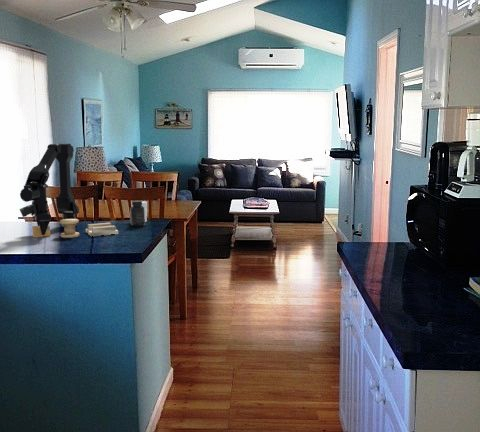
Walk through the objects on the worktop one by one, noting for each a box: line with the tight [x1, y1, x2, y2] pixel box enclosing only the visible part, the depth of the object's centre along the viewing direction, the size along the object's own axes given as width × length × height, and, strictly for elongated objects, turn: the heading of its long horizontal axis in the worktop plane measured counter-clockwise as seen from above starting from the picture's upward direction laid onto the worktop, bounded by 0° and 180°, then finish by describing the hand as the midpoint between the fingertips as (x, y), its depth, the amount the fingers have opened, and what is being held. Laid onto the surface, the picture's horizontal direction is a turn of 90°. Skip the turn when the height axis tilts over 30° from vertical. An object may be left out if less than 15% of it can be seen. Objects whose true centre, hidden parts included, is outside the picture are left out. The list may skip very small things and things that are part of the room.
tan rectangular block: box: [31, 225, 51, 238], centre depth 247 cm, size 4×7×4 cm, turn 116°
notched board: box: [85, 222, 119, 238], centre depth 253 cm, size 12×12×4 cm
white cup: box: [131, 200, 148, 223], centre depth 282 cm, size 8×8×10 cm
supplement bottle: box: [129, 200, 146, 227], centre depth 271 cm, size 7×7×12 cm
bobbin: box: [59, 218, 80, 239], centre depth 247 cm, size 8×8×7 cm
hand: (42, 233), depth 248 cm, fingers open, 8 cm apart
